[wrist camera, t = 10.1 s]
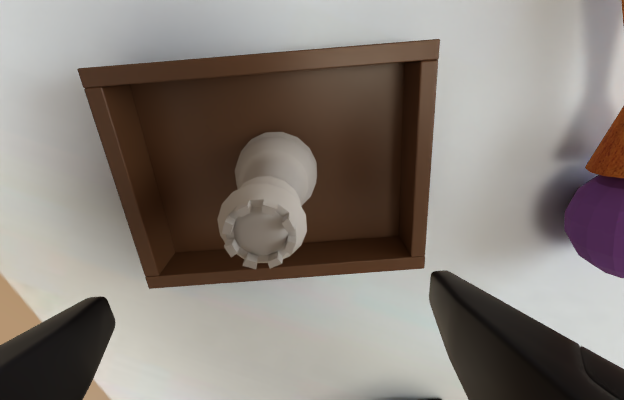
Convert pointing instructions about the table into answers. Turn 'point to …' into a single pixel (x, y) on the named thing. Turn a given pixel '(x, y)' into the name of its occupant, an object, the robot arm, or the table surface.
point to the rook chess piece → (268, 200)
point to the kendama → (601, 205)
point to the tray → (272, 118)
